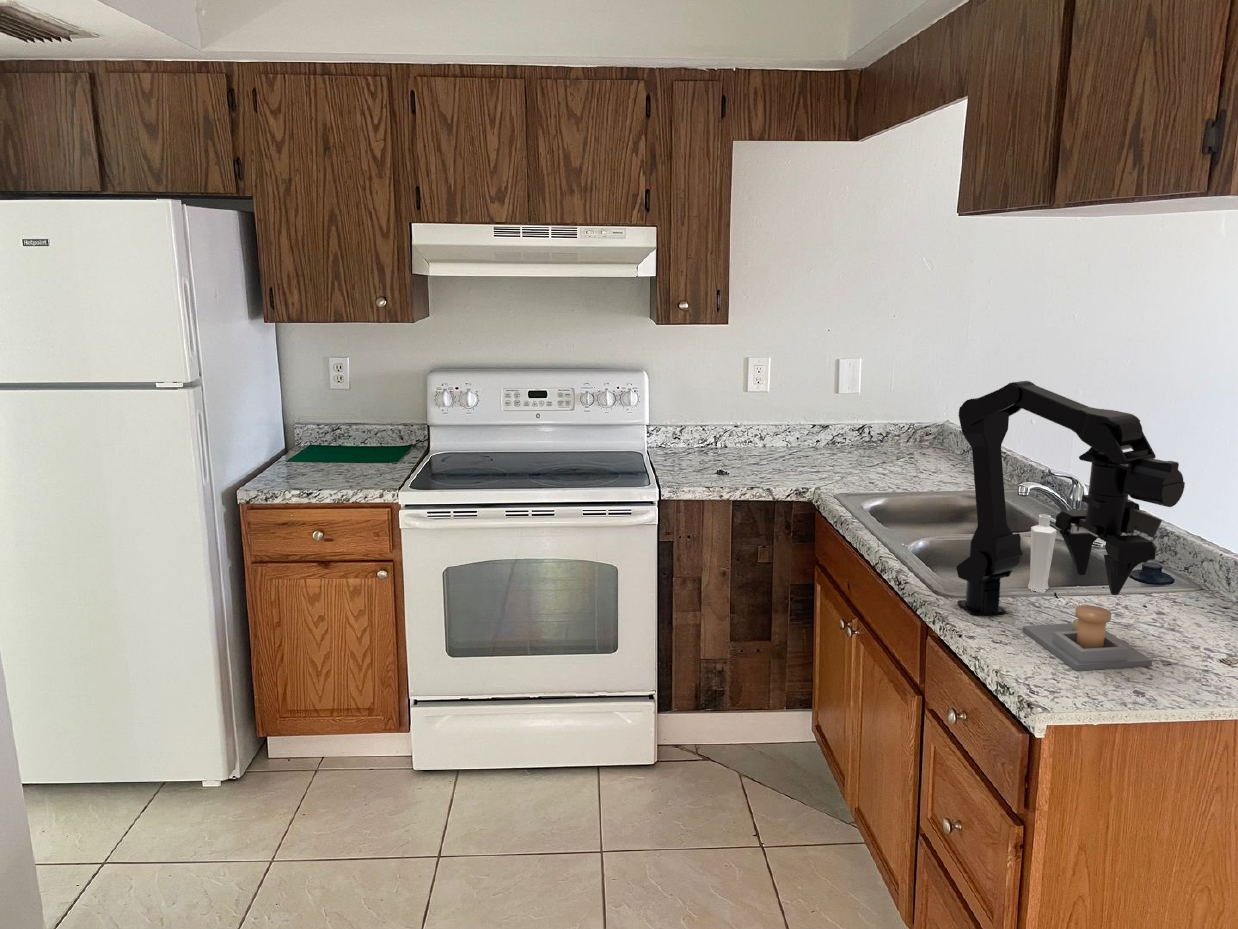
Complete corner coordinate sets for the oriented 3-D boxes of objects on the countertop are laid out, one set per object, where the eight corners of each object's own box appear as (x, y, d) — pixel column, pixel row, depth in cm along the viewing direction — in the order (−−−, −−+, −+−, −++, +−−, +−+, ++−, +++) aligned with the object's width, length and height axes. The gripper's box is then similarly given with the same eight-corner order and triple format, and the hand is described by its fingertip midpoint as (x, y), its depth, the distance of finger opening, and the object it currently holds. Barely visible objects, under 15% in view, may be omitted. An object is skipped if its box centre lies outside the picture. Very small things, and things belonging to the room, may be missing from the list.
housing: (1022, 631, 167) (1024, 610, 166) (1092, 627, 169) (1094, 606, 168) (1075, 671, 152) (1078, 647, 151) (1151, 666, 153) (1154, 642, 152)
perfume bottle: (1053, 594, 185) (1061, 519, 181) (1029, 593, 185) (1036, 518, 182) (1047, 586, 189) (1054, 513, 186) (1024, 584, 190) (1030, 512, 186)
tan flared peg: (1065, 645, 159) (1069, 606, 157) (1094, 644, 159) (1098, 604, 158) (1083, 658, 154) (1087, 618, 152) (1113, 657, 154) (1118, 616, 153)
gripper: (1195, 506, 144) (1182, 603, 148) (1120, 476, 162) (1110, 563, 166) (1126, 508, 143) (1114, 606, 147) (1058, 478, 161) (1049, 566, 165)
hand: (1097, 584), depth 156 cm, fingers open, 9 cm apart
